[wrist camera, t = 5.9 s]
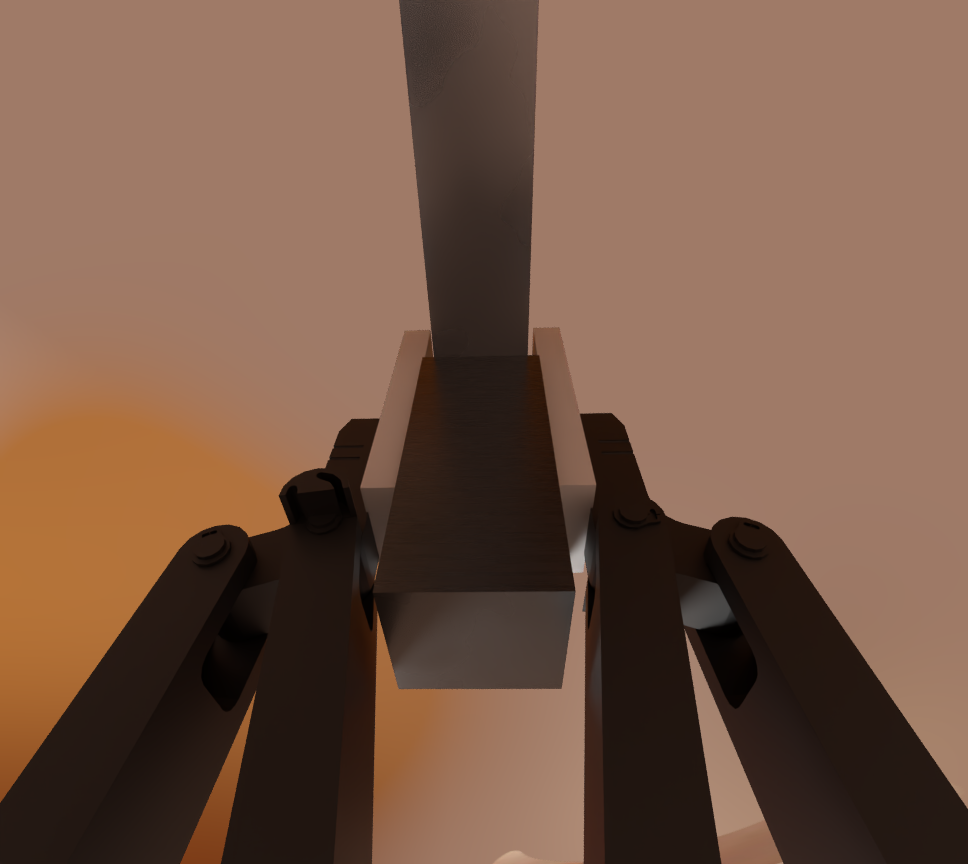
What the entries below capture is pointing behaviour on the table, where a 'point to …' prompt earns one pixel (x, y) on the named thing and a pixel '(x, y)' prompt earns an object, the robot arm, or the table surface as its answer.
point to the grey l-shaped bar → (476, 376)
